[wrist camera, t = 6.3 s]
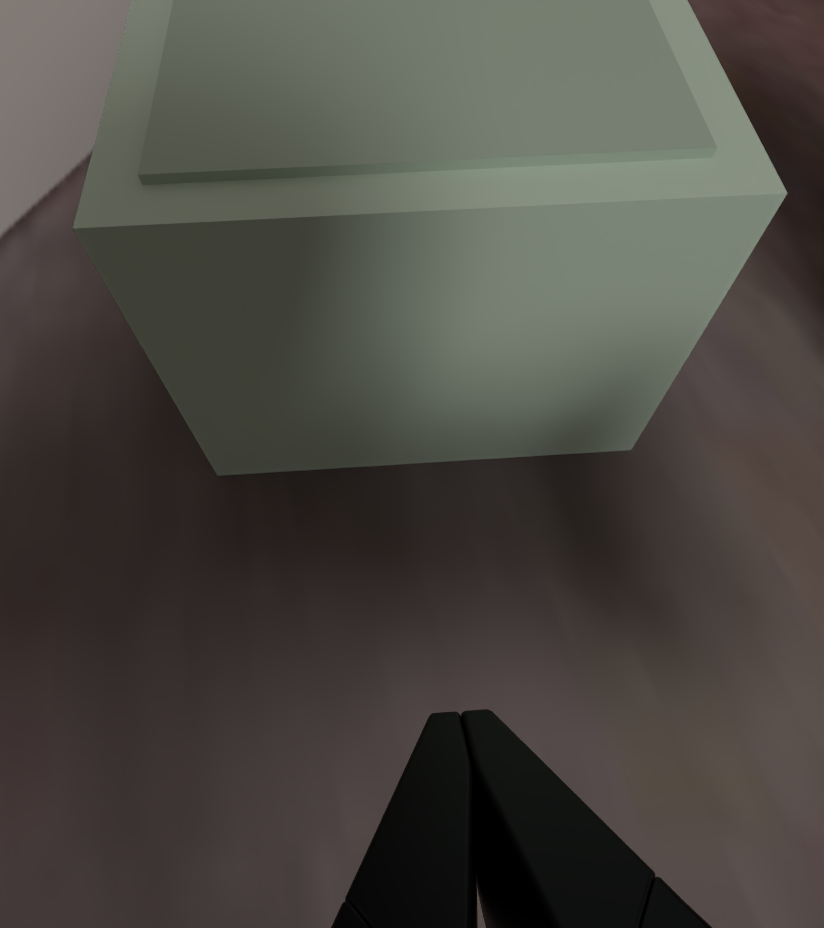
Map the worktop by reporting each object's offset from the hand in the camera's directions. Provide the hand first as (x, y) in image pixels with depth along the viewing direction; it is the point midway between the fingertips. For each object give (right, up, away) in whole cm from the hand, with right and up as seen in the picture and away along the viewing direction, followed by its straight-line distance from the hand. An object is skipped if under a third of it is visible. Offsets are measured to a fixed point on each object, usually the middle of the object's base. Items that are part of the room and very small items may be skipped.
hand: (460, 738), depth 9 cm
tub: (-1, +11, +14) cm, 17 cm away
